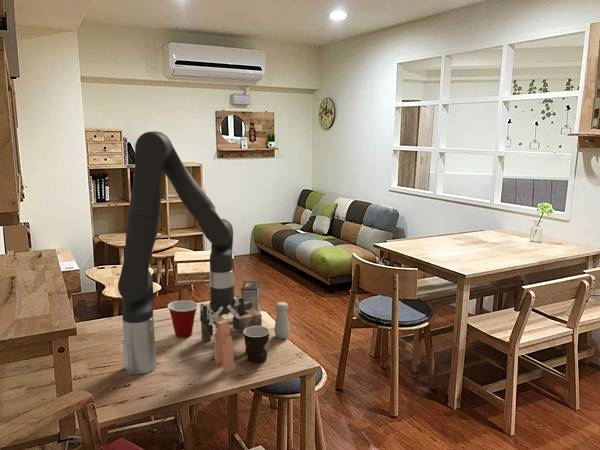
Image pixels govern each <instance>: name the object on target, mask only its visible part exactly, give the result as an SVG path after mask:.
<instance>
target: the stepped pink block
mask: <svg viewBox="0 0 600 450" xmlns="http://www.w3.org/2000/svg"><path fill="white" fill-rule="evenodd" d="M214 332H215V333H213V338H214V339H213V341H214V342H213V343H214V344H213V345H214V362H215V364H216V365H218V364H222V371H223V372H224V373H229V372H232V371H234V370H235V365H234V362H235V361H234V340H233V338H232V336H231V335H230V332H231V331H230V326H229V323H228V322H227V321H226V320H224V321H220V322H217V329H216V328H215V331H214Z"/></svg>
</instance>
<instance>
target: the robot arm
mask: <svg viewBox="0 0 600 450" xmlns="http://www.w3.org/2000/svg"><path fill="white" fill-rule="evenodd" d="M162 172H163V173H164V174H165V175H166V177H167V178H168V180H169V181H170V183H171V184H172V186H173V189H174V191H175V192H176V194H177V196H178V197H179V199H180V201H181V202H182V204H183V205H184V207H185V208H186V209H187V210H188V212H189V213H190V214H191V215H192V217H193V218H194V219H195V220H196V222H197V224H198V226H199V228H200V229H201V231H202V233H203V234H204V236H205V238H206V239H207V240H208V242H210V244H211V246H210V248H211V250H210V255H209V282H208V283H209V299H210V301H209V303H208V304H204V303H200V311H199V317H200V318H199V321H200V323H201V322H202V323H203V324H204V325H205V324H206V328H207V333H208V334H209V335H210V336H211V337H212V336H214V326H213V325H214V324H213V322H214V320H215V319H216V318H217V317H218V315H219V316H224V315H229V314H231V315H232V316H233V317H232V318H233V325H232V327H233V329H234V330H235V331H236V330H237V329H238V327H239V318H240V317H241V316H244V315H245V309H244V299H243V298H242V297H241V295H238V296H237V297H235V274H234V265H233V263H234V260H233V259H234V257H233V246H234V245H233V243H234V228H233V225H232V223H231V222H230V221H229V220H227V219H225V218H221V217H220V216H219V214H218V213H217V211H216V206H215V205H214V203H213V202H212V200H211V199H210V198H209V196H208V195H207V194H206V192H205V191H204V190H203V189H202V187H201V186H200V185H199V184H198V182H197V181H196V180H195V178H194V177H193V176H192V175H191V173H190V171H189V170H188V169H187V167H186V166H185V164H184V163H183V161H182V160H181V158H180V156H179V155H178V152H177V150H176V148H175V147H174V145H173V143H172V141H171V139H170V138H169V137H168V135H166V134H164V133H163V132H161V131H156V130H154V131H146V132H144V133H142V134H141V135H140V136H138V137H137V140H136V142H135V147H134V176H133V183H132V188H131V193H130V199H129V205H128V211H127V212H128V213H127V219H126V220H127V221H126V231H125V244H124V246H125V247H124V256H123V263H122V268H121V270H120V276H119V279H118V283H117V291H118V293H119V295H120V297H121V298H122V300H123V302H122V311H121V316H122V327H123V328H122V329H123V330H122V331H123V340H122V349H123V350H122V352H123V353H122V354H123V363H124V365H123V366H124V368H125V370H126V372H127V374H128V375H129V376H131V375H144V374H148V373H150V372H153V370H155V368H156V367H157V353H156V341H155V340H156V339H155V338H156V337H155V321H154V304H155V303H154V302H155V301H154V300H155V299H154V297H155V296H154V282H153V281H154V280H153V275H152V273H151V271H150V269H149V268H150V262H151V261H150V260H151V256H152V253H153V249H154V246H155V244H156V240H157V236H158V232H159V227H160V222H161V214H162V198H161V189H160V188H161V186H160V182H161V175H162ZM235 303H237V304H238V312H236V311H235V310H234V309H233V306H234V305H235ZM209 308H211V309H212V310H211V311H210V313H209V316H208V317H207V311H208V310H209ZM230 312H231V313H230ZM214 313H215V314H214Z"/></svg>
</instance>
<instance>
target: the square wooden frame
mask: <svg viewBox="0 0 600 450" xmlns="http://www.w3.org/2000/svg"><path fill="white" fill-rule="evenodd" d="M233 309H234V310H235V311H236V312H238V304H237V303H235V305H234V306H233ZM244 309H245V315H244V316H241V317H240V318H239V327H238V329H237V330H235V332H236V333H238V334H244V332H243V331H244V330H245V329H246V328H245V322H248V321H252V326H263V325H262V324H263V322H262V319H263V318H262V316H263V315H262V313H261V312H260V313H259V312H258V311H256V310H255V309H253V308H252V302H251V301H246V302H244ZM211 310H212V309H211V308H209V310H208V311H207V317H208V316H209V313H210V311H211ZM214 314H215V313H214ZM229 314H231V312H230V313H229ZM224 320H226V321H227V322H228V323H229V327H230V326H231V327H232V326H233V317H229V318H224V317H223V315H221V316H219V315H218V317H217V318H216V319H215V320H214V322H213V323H212V325H214V326H215V329H217V322H220V321H224ZM200 325H201V326H200V327H201V328H200V329H201V331H200V332H201V340H202V342H204V343H207V342H211V341H212V336H210V335H209V334H208V333H207V328H206V324H205V325H204V324H203V323H202V322H201V321H200Z"/></svg>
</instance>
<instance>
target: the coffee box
mask: <svg viewBox="0 0 600 450" xmlns="http://www.w3.org/2000/svg"><path fill="white" fill-rule="evenodd" d="M240 293H241V295H240V297H242V298H243V299H244V302H246V301H251V302H252V308H253V309H255V310H256V311H258V312H259V313H261V281H260V280H245V281H244V280H243V283H242V287H241V291H240ZM251 326H252V321H248V322H245V329H246V328H248V327H251Z"/></svg>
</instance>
